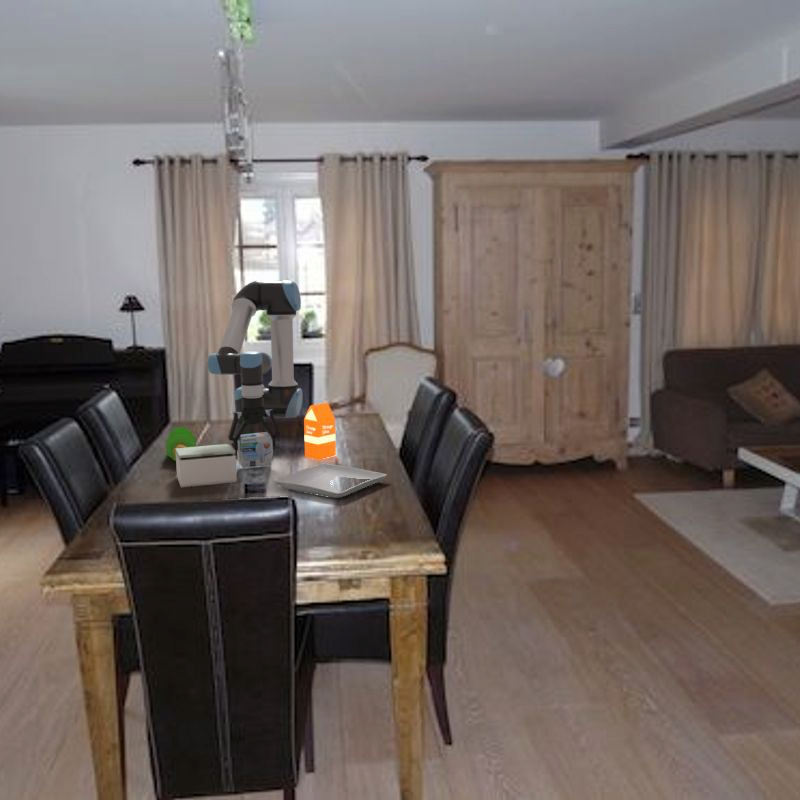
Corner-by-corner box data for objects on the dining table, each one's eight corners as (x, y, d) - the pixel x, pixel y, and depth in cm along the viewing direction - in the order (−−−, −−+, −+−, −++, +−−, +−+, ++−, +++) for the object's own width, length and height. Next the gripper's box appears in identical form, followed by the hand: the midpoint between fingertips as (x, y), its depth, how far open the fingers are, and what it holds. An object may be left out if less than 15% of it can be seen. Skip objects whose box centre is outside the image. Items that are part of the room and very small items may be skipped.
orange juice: (336, 456, 304) (335, 403, 301) (318, 460, 298) (317, 406, 294) (322, 452, 309) (321, 401, 306) (304, 456, 303) (303, 404, 300)
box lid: (229, 446, 281) (228, 443, 281) (235, 453, 268) (235, 450, 268) (175, 450, 275) (175, 448, 275) (179, 458, 262) (179, 455, 261)
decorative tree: (171, 433, 288) (172, 414, 316) (160, 462, 289) (161, 441, 317) (202, 443, 291) (200, 423, 320) (191, 472, 292) (190, 450, 321)
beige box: (230, 471, 282) (229, 446, 281) (236, 482, 270) (235, 455, 268) (176, 476, 276) (175, 451, 275) (180, 487, 263) (179, 460, 262)
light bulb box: (242, 468, 282) (241, 438, 280) (238, 464, 288) (236, 434, 286) (272, 465, 286) (271, 435, 284) (268, 460, 292) (266, 431, 290)
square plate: (340, 504, 246) (339, 492, 245) (271, 491, 260) (270, 479, 260) (388, 483, 268) (388, 472, 268) (322, 472, 283) (322, 461, 282)
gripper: (283, 392, 289) (285, 451, 294) (217, 396, 281) (220, 458, 286) (287, 395, 282) (289, 456, 287) (220, 400, 275) (223, 463, 279)
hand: (255, 457), depth 286 cm, fingers closed on light bulb box, 11 cm apart
